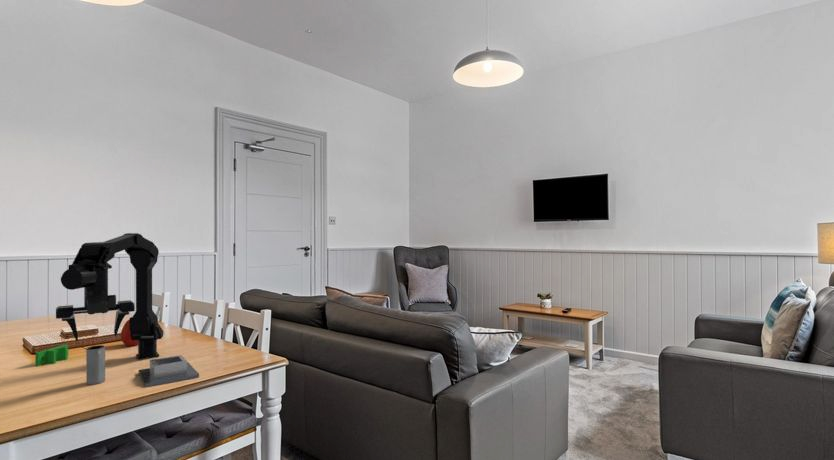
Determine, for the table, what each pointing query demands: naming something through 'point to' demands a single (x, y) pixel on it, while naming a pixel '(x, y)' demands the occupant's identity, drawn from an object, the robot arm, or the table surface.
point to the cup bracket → (167, 371)
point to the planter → (95, 364)
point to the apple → (127, 336)
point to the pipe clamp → (51, 355)
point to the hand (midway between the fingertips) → (96, 338)
